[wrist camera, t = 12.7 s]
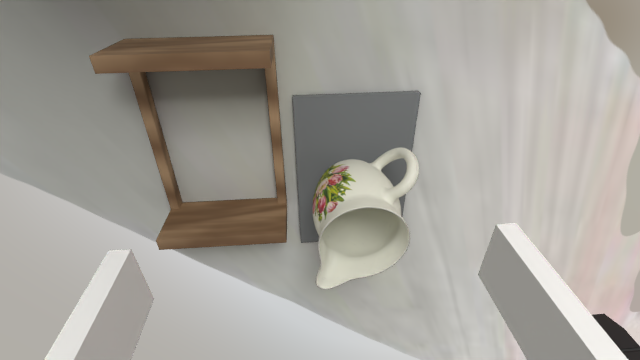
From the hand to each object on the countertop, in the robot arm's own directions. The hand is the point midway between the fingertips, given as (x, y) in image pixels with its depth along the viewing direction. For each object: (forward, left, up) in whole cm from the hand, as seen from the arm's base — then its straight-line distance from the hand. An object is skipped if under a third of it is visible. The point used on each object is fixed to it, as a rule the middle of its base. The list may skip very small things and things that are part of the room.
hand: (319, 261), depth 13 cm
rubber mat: (+17, +7, -33) cm, 37 cm away
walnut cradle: (+10, -11, -33) cm, 36 cm away
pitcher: (+16, +7, -32) cm, 37 cm away
